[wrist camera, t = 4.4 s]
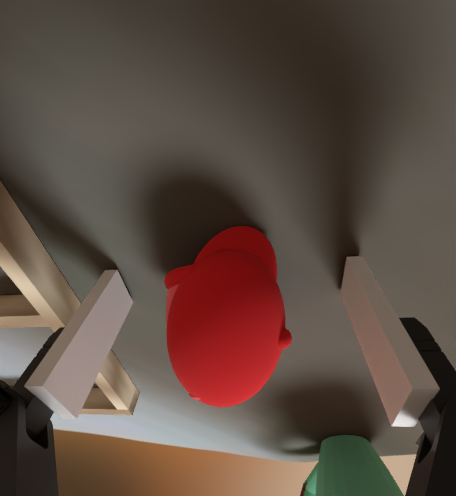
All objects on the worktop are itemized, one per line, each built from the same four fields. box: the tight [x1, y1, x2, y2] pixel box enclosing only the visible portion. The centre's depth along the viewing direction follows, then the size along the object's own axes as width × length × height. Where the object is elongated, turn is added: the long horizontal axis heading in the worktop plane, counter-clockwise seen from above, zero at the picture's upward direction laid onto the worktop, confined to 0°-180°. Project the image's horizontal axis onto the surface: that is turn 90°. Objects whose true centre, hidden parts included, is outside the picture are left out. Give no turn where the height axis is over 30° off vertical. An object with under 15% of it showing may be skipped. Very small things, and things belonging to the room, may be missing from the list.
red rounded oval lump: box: [164, 226, 292, 407], centre depth 13 cm, size 8×6×6 cm
